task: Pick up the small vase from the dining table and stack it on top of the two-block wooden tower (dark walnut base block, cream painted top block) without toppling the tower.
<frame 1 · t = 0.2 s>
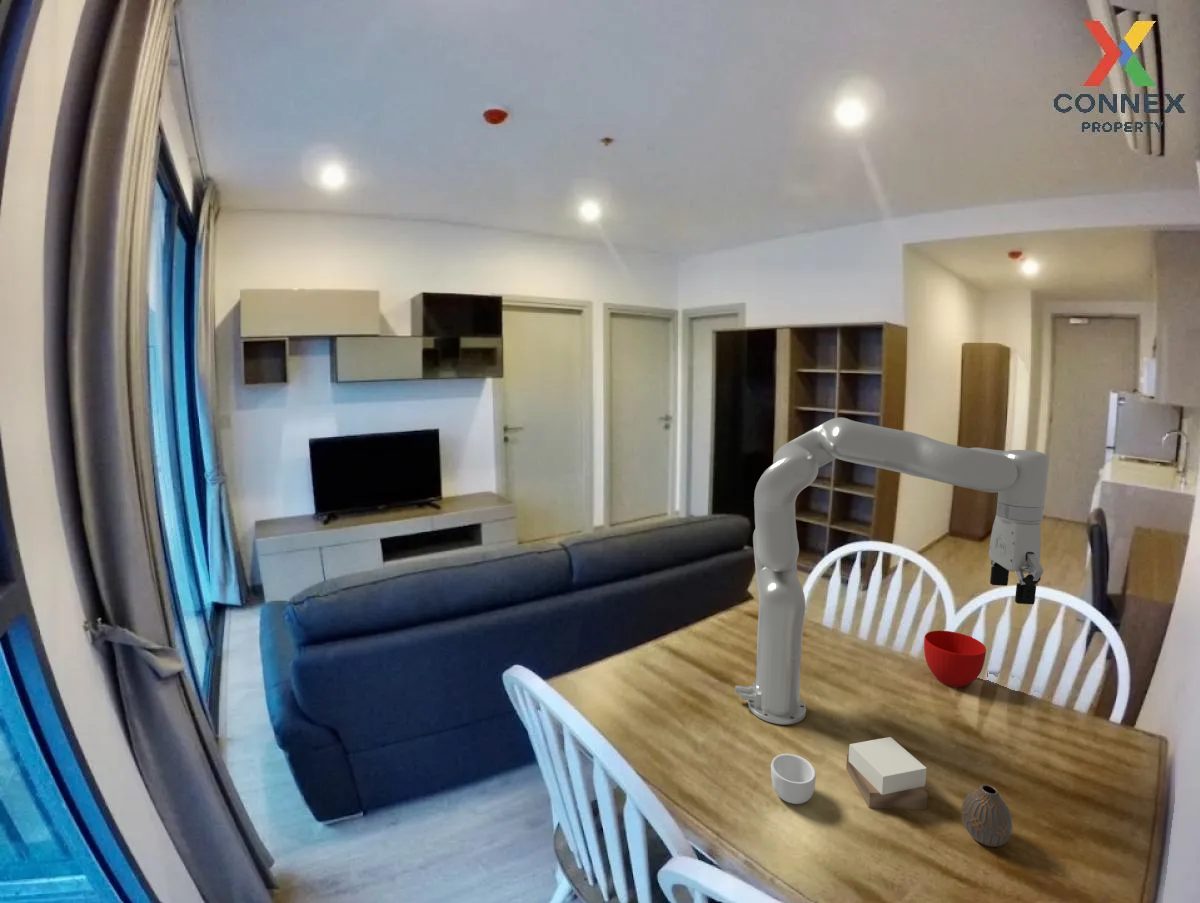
hand: (1011, 593, 117), 31 cm above the table, fingers open, 9 cm apart
base block: (884, 790, 106), on the table, touching top block
teacup: (791, 791, 106), on the table
red rounded bowl: (954, 678, 144), on the table
top block: (885, 773, 106), point 3 cm above the table, touching base block
vase: (984, 838, 95), on the table
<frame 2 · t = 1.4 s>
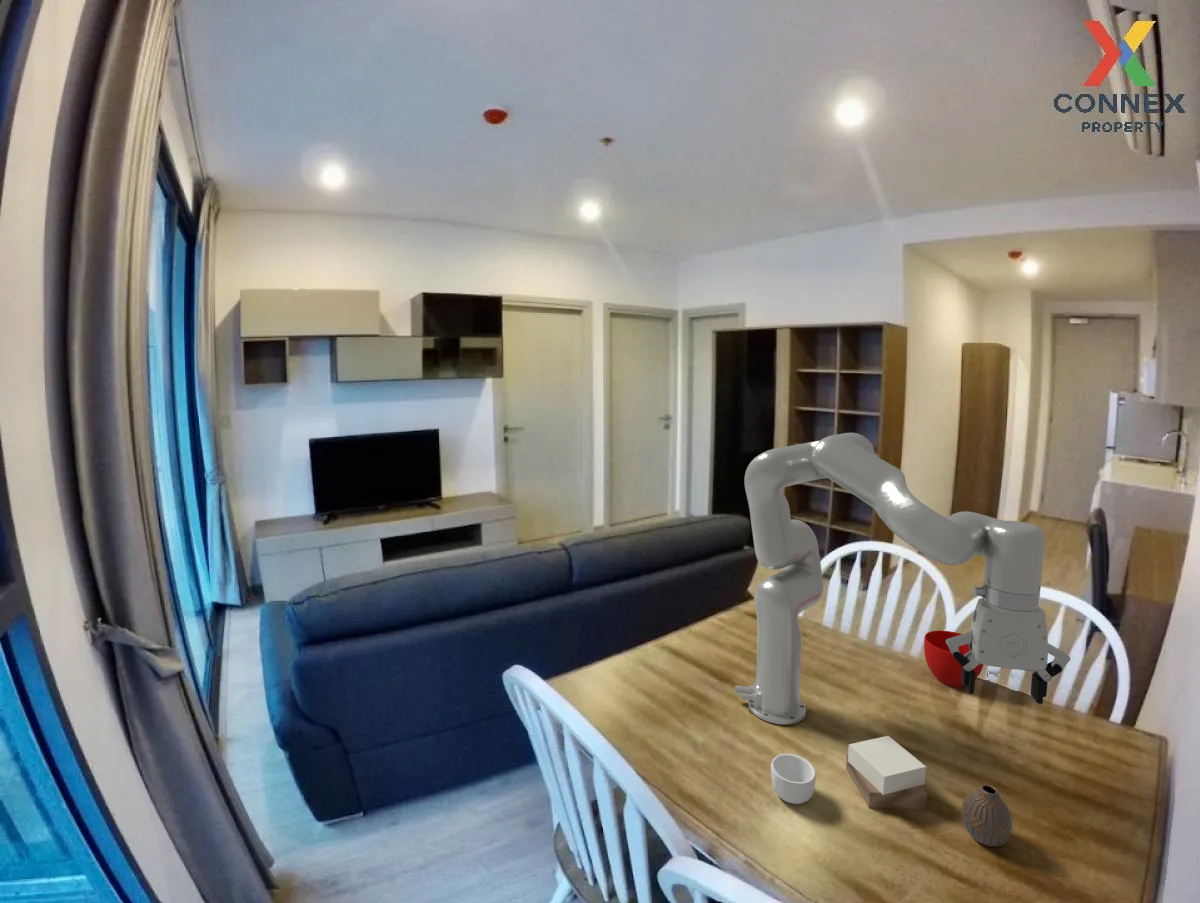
hand: (1002, 694, 96), 22 cm above the table, fingers open, 9 cm apart
base block: (884, 789, 106), on the table
top block: (885, 772, 106), point 3 cm above the table
everything else where it was.
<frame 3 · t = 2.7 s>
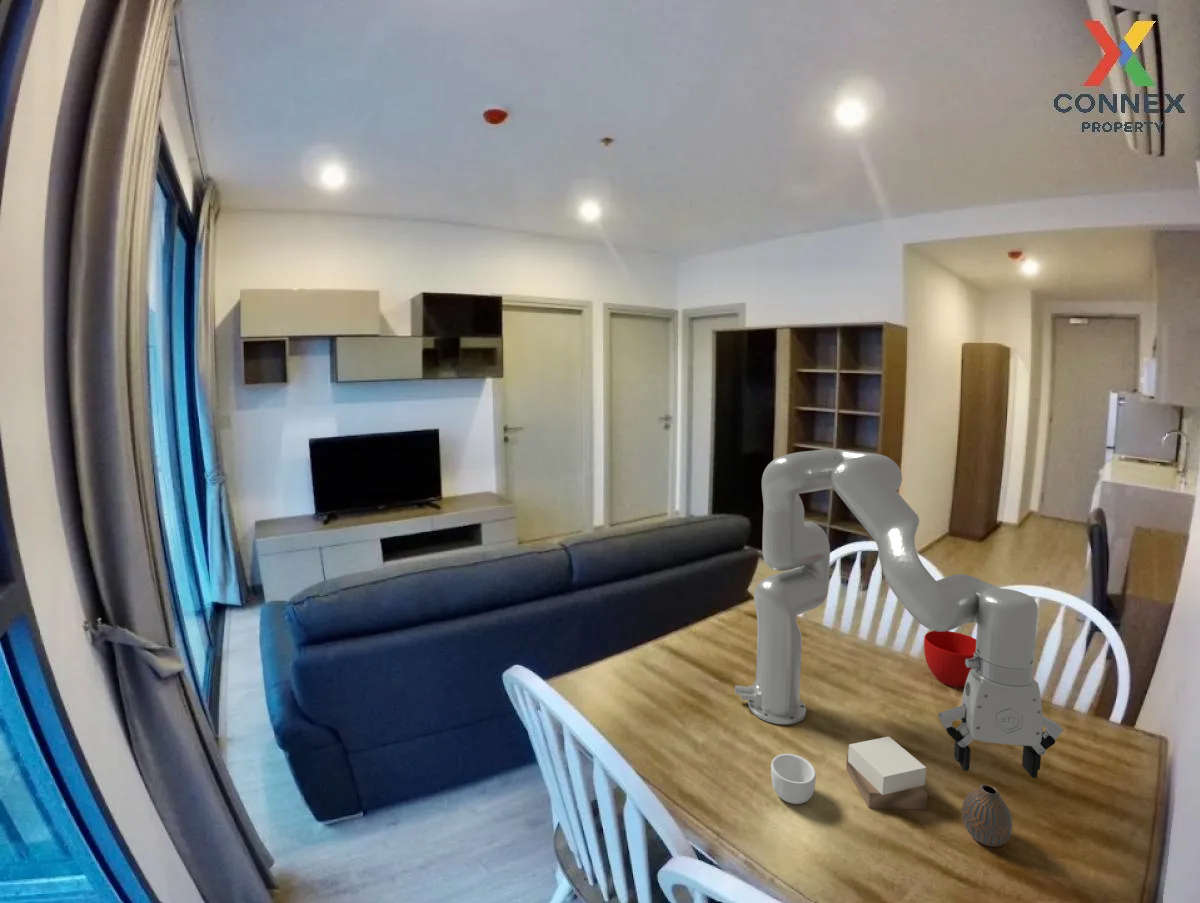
hand: (995, 768, 93), 13 cm above the table, fingers open, 9 cm apart
base block: (884, 790, 106), on the table, touching top block
top block: (885, 772, 106), point 3 cm above the table, touching base block
everything else where it was.
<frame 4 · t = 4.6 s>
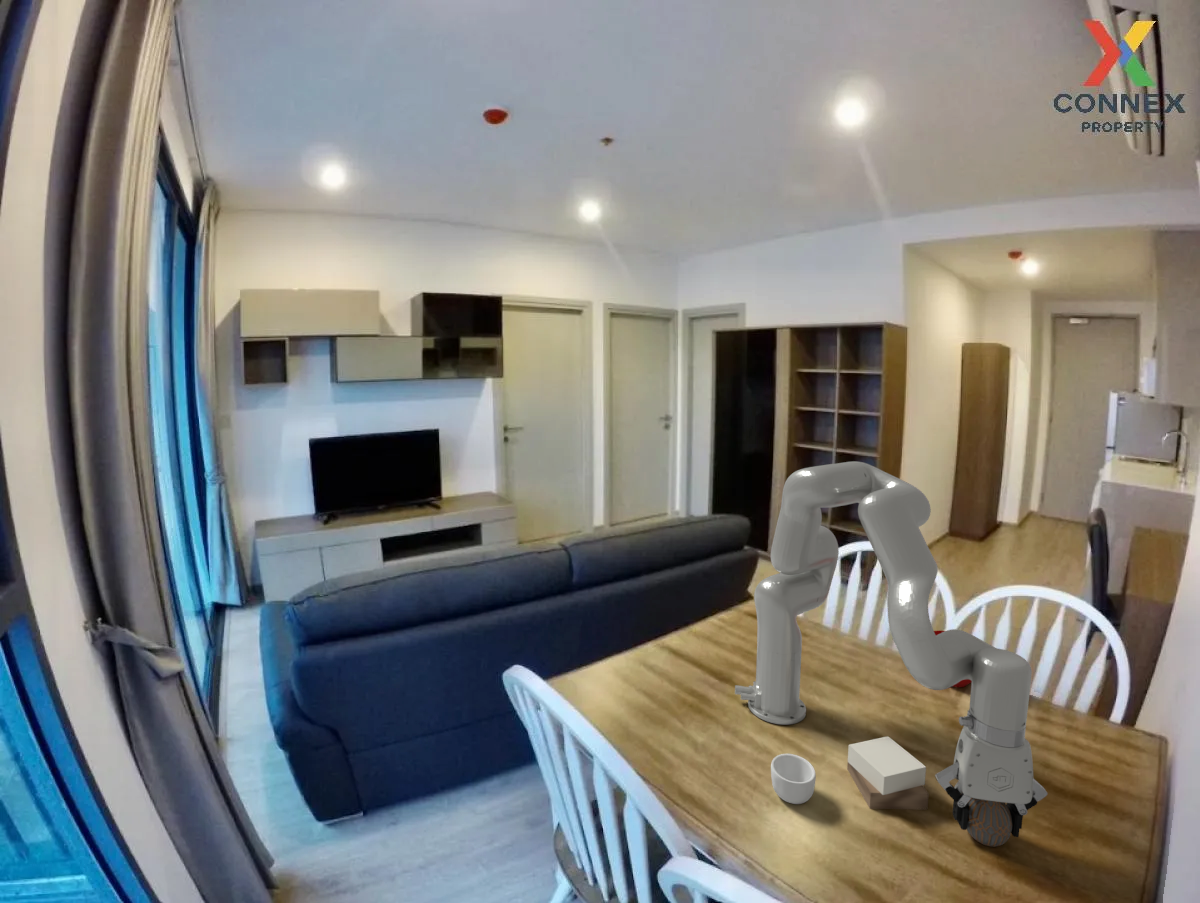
hand: (985, 826, 95), 2 cm above the table, fingers closed on vase, 6 cm apart
vase: (984, 837, 95), on the table, touching gripper
everything else where it was.
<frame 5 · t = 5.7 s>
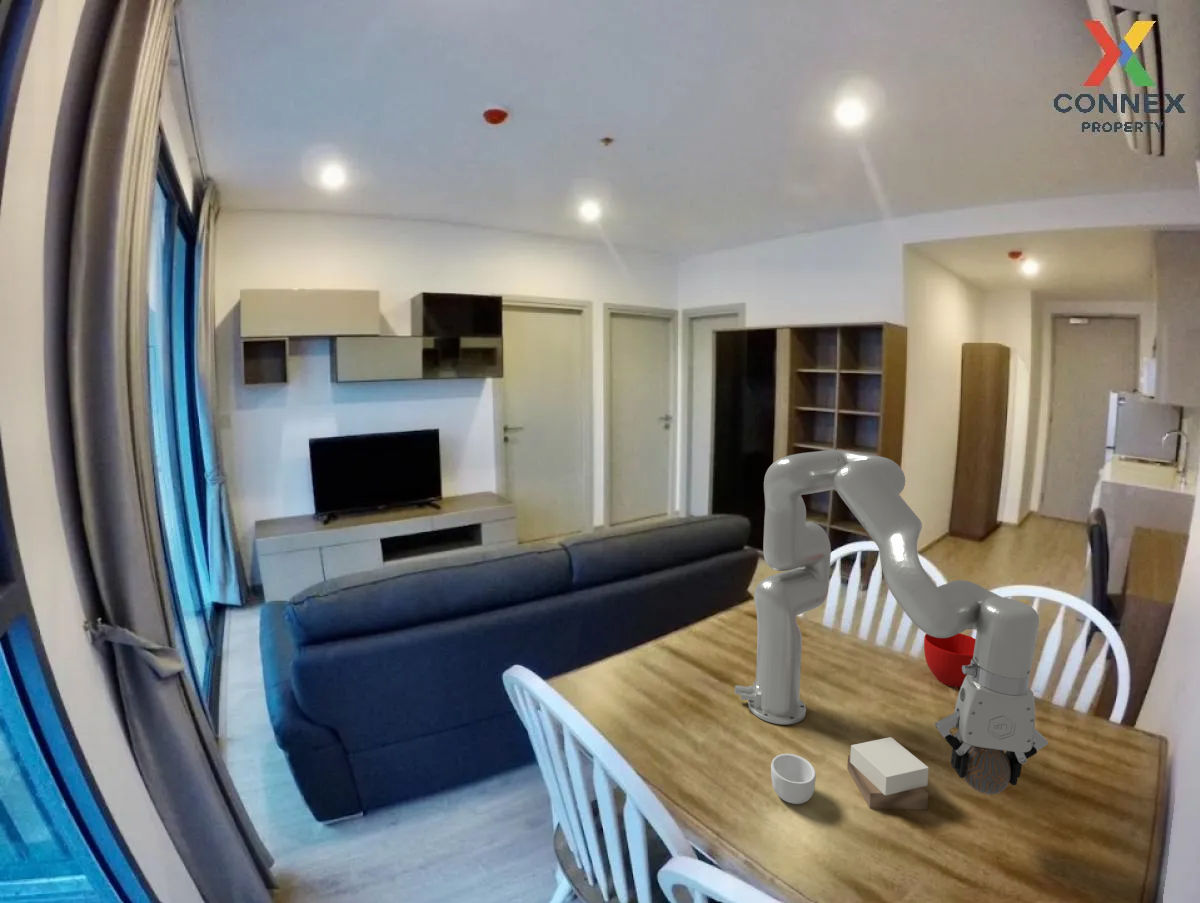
hand: (983, 774, 94), 11 cm above the table, fingers closed on vase, 6 cm apart
vase: (981, 786, 95), point 8 cm above the table, touching gripper
everything else where it was.
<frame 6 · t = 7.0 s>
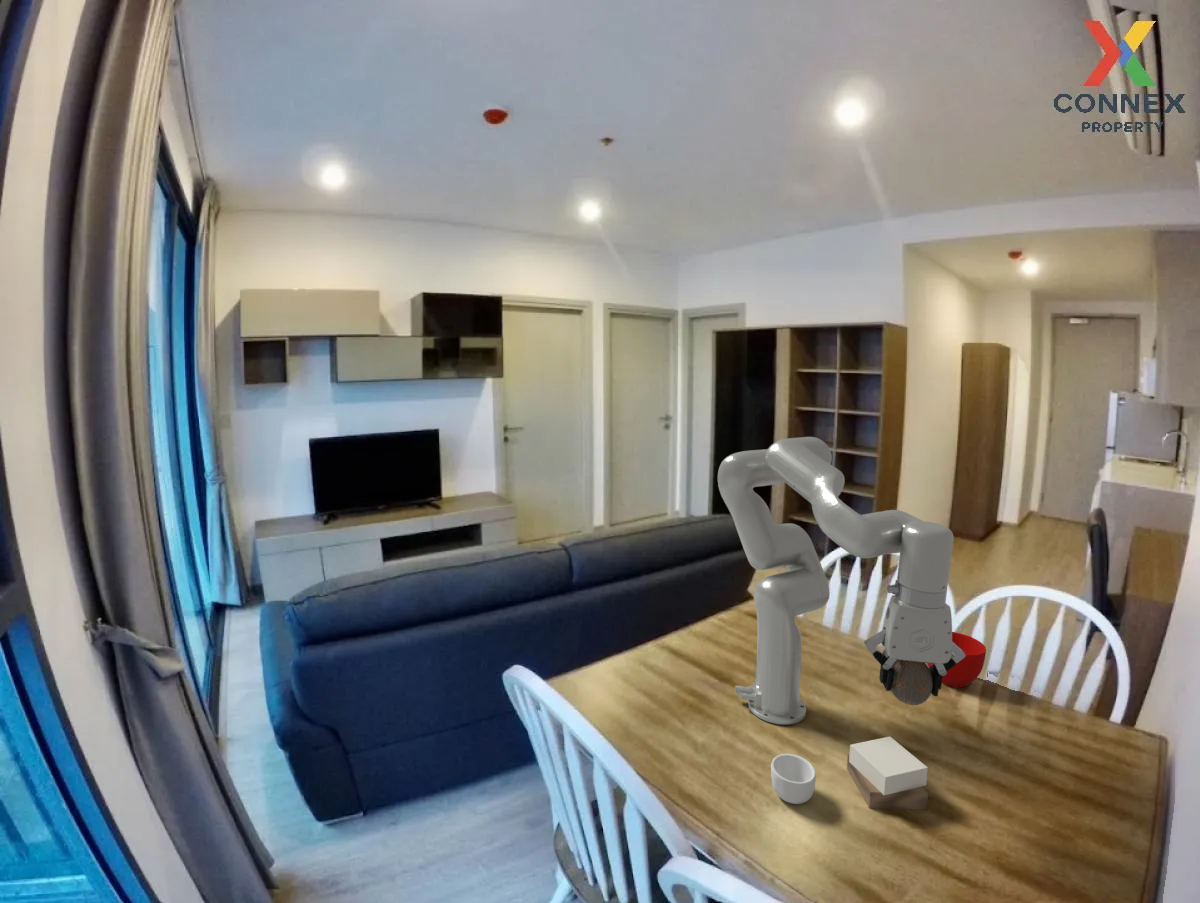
hand: (909, 688, 101), 21 cm above the table, fingers closed on vase, 6 cm apart
vase: (907, 699, 102), point 19 cm above the table, touching gripper
everything else where it was.
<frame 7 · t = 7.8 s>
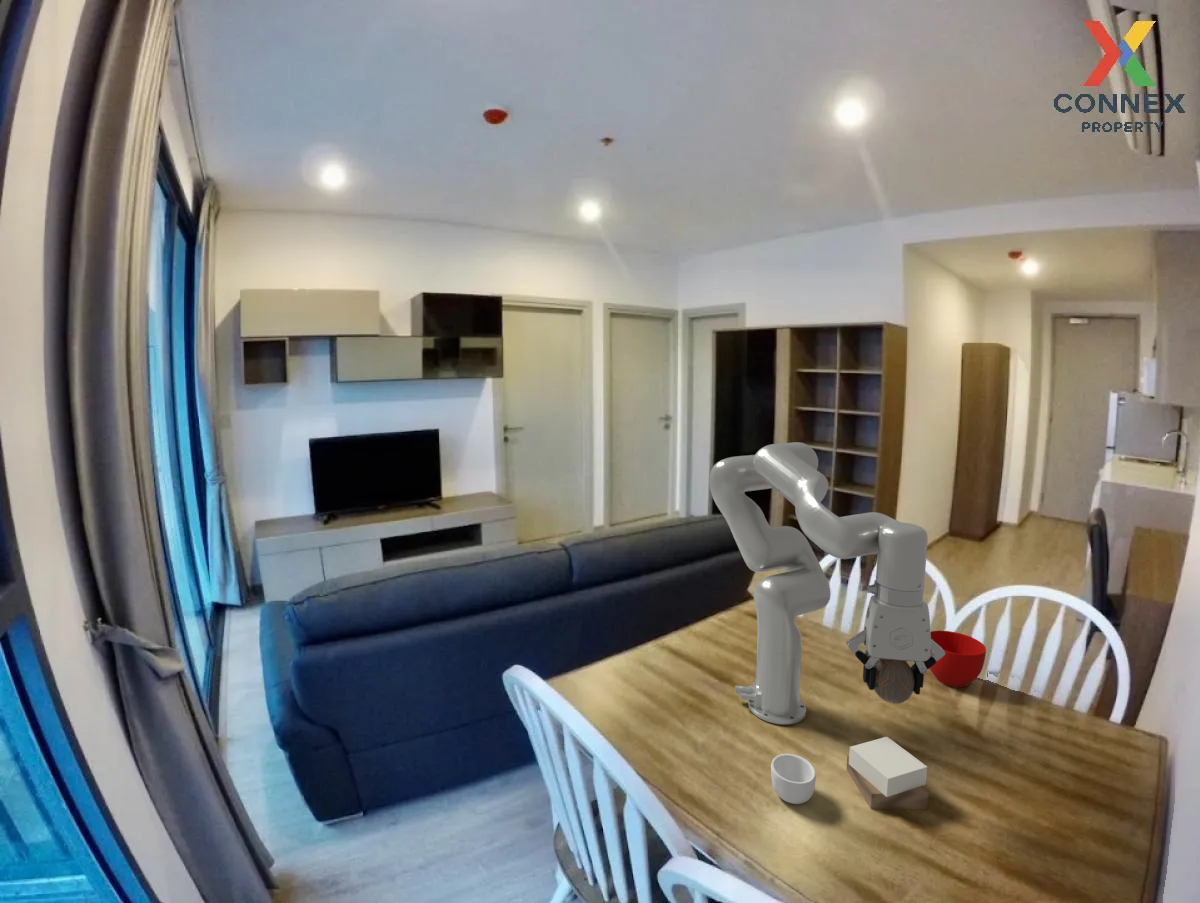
hand: (892, 687, 103), 20 cm above the table, fingers closed on vase, 6 cm apart
base block: (884, 790, 106), on the table
top block: (886, 773, 106), point 3 cm above the table
vase: (891, 698, 104), point 18 cm above the table, touching gripper
everything else where it was.
when the fingers open (10 cm above the table, at t = 10.3 s): vase drops 2 cm, resting on top block.
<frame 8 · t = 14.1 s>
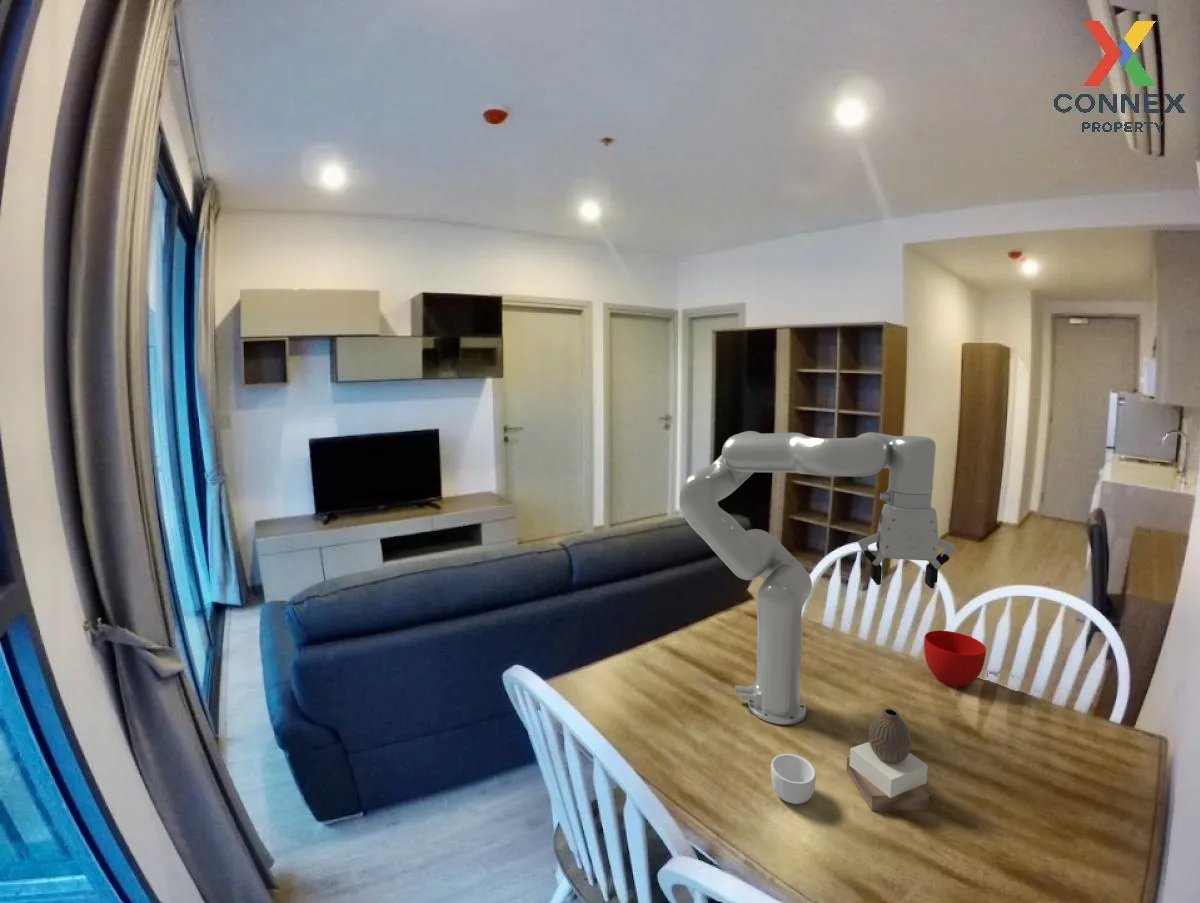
hand: (902, 584, 114), 34 cm above the table, fingers open, 9 cm apart
base block: (885, 792, 106), on the table, touching top block
top block: (886, 774, 106), point 3 cm above the table, touching base block, vase
vase: (888, 757, 105), point 6 cm above the table, touching top block
everything else where it was.
at the end: vase inside the target area on the top block (0.2 cm from its centre), point 3.3 cm above the top block's base; vase tilted 0°; top block 0.4 cm off-centre on the base block, point 3.5 cm above the base block's base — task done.
